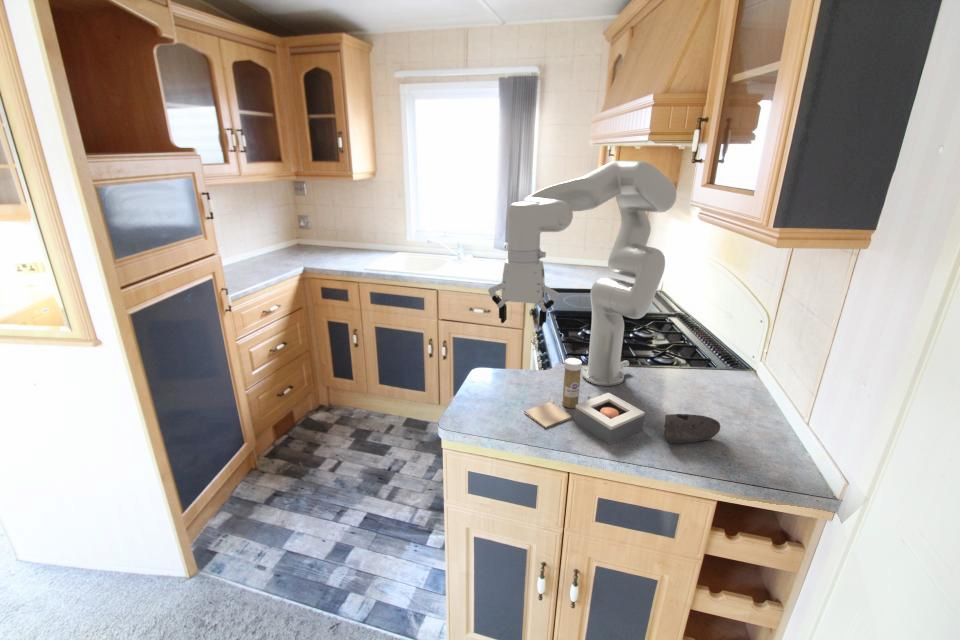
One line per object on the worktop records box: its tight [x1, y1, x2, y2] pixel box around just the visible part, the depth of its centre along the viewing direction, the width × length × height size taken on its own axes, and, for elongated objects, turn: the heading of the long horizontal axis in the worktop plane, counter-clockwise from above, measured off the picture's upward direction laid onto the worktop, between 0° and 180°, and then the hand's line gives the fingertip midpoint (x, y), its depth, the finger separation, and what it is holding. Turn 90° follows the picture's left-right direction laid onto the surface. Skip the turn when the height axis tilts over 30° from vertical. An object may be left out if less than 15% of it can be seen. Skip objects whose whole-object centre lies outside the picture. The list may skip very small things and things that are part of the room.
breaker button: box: [600, 407, 619, 419], centre depth 117 cm, size 5×5×2 cm
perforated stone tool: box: [664, 413, 721, 444], centre depth 111 cm, size 15×5×7 cm, turn 95°
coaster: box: [523, 401, 573, 429], centre depth 123 cm, size 9×9×1 cm
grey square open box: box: [574, 392, 646, 446], centre depth 117 cm, size 12×12×5 cm
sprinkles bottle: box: [561, 357, 583, 409], centre depth 126 cm, size 5×5×13 cm
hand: (522, 323), depth 115 cm, fingers open, 9 cm apart
